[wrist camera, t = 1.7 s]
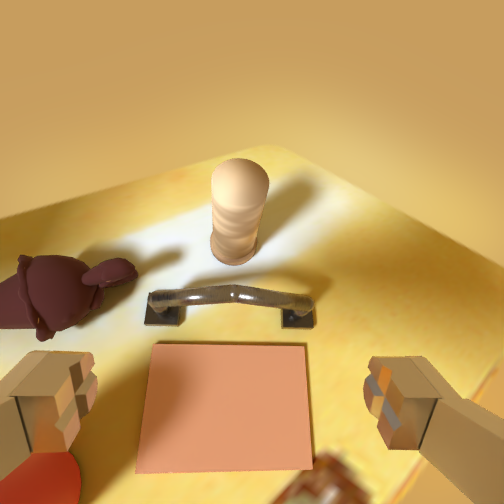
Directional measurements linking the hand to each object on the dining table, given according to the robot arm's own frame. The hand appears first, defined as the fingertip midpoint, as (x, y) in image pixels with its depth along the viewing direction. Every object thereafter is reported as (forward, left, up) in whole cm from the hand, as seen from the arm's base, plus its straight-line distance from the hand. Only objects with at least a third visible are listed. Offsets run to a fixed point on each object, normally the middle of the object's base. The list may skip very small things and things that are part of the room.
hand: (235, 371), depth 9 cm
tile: (0, -2, -20) cm, 20 cm away
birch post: (0, +14, -20) cm, 24 cm away
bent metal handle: (0, +6, -20) cm, 21 cm away
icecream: (-15, +7, -20) cm, 26 cm away
